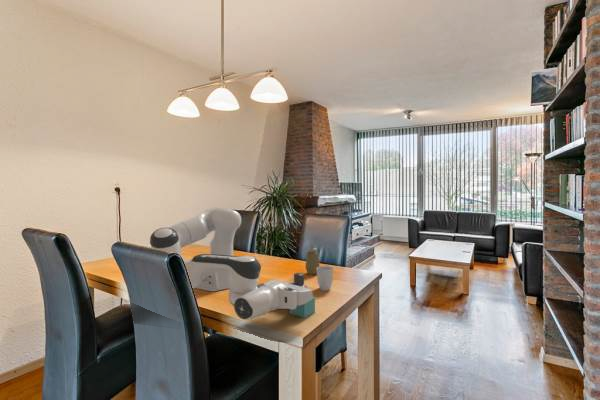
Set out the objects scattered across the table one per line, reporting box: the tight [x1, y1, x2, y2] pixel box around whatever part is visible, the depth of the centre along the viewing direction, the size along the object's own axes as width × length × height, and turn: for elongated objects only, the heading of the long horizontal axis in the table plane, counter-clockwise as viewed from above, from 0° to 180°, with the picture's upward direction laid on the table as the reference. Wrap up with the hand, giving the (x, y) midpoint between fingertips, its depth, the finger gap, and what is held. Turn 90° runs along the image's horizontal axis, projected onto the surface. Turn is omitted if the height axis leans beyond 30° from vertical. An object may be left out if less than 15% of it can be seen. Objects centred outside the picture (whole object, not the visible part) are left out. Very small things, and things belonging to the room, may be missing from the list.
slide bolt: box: [293, 272, 305, 286], centre depth 122 cm, size 17×4×14 cm, turn 51°
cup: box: [316, 265, 334, 291], centre depth 146 cm, size 8×8×10 cm
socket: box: [289, 296, 316, 319], centre depth 118 cm, size 7×7×6 cm
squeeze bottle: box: [305, 241, 321, 276], centre depth 171 cm, size 8×8×18 cm
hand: (300, 285), depth 120 cm, fingers closed on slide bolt, 4 cm apart
